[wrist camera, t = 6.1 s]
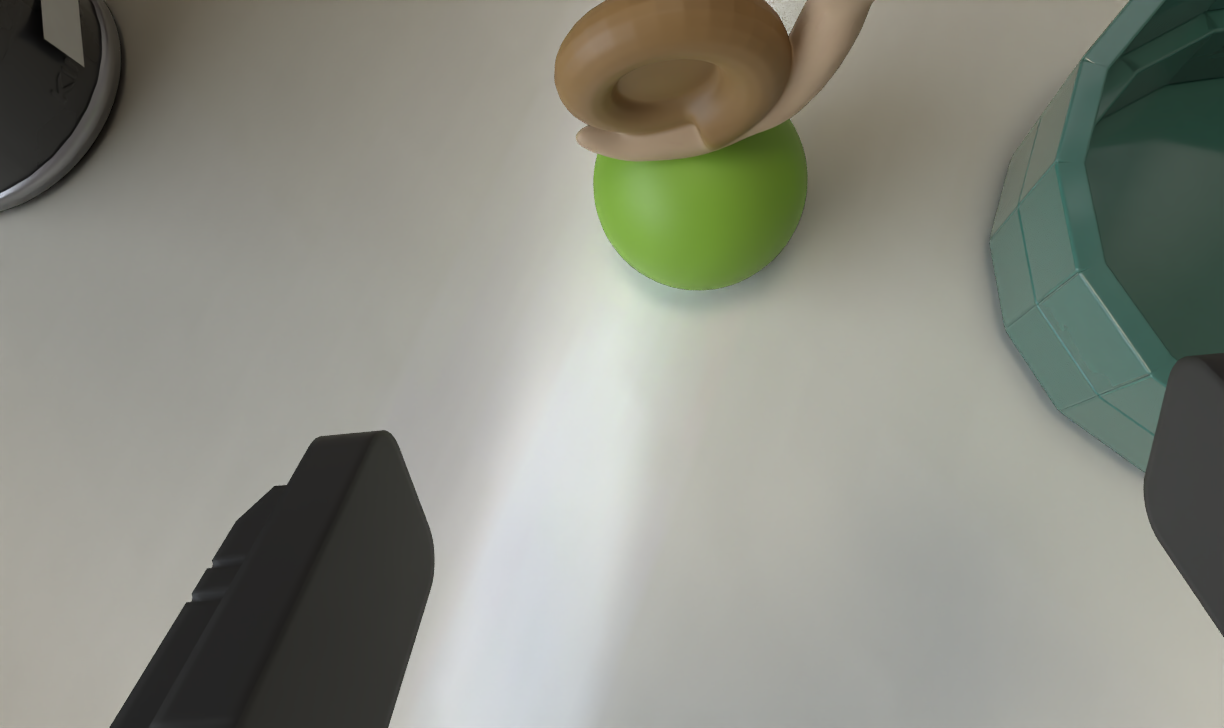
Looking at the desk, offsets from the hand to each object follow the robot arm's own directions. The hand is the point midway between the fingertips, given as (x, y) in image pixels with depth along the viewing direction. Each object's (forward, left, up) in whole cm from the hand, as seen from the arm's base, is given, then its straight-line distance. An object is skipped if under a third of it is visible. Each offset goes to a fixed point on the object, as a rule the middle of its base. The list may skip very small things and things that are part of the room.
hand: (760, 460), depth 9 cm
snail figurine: (0, +8, -14) cm, 16 cm away
